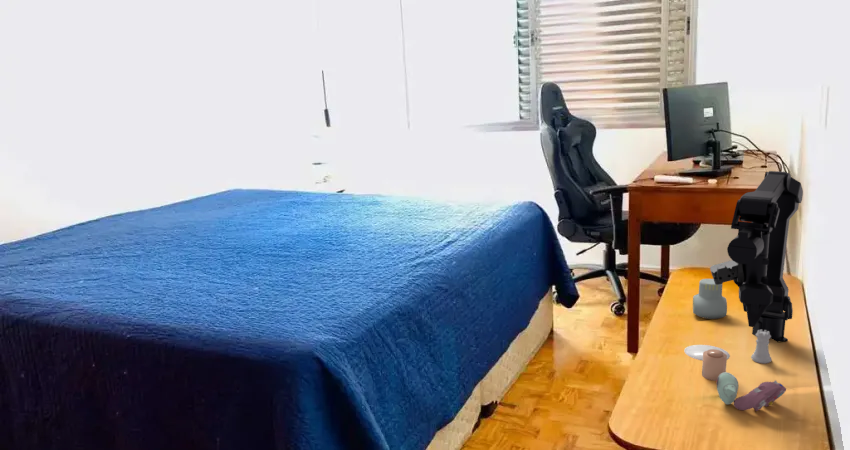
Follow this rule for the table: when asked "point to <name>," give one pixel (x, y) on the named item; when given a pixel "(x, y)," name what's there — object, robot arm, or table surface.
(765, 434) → the table surface
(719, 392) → the robot head
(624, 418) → the table surface
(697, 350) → the coaster
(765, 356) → the rook chess piece
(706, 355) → the cup
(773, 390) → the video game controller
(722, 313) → the air freshener
